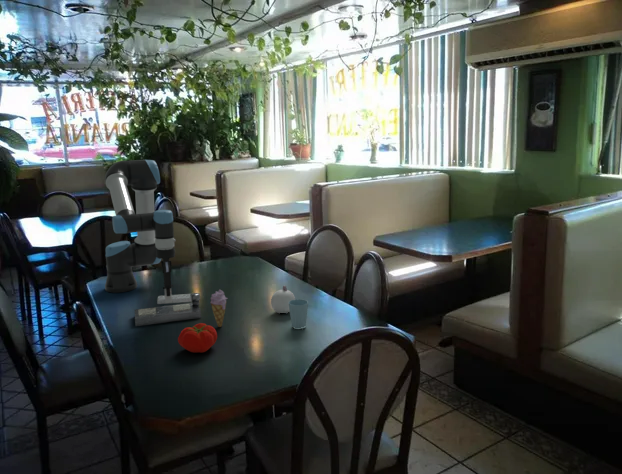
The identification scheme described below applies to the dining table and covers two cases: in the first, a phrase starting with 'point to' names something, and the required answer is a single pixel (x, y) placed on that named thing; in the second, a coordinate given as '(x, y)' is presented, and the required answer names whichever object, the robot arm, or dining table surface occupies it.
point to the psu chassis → (167, 313)
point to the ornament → (282, 300)
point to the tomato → (197, 338)
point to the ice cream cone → (218, 306)
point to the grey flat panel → (180, 298)
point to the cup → (298, 312)
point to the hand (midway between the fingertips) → (168, 302)
